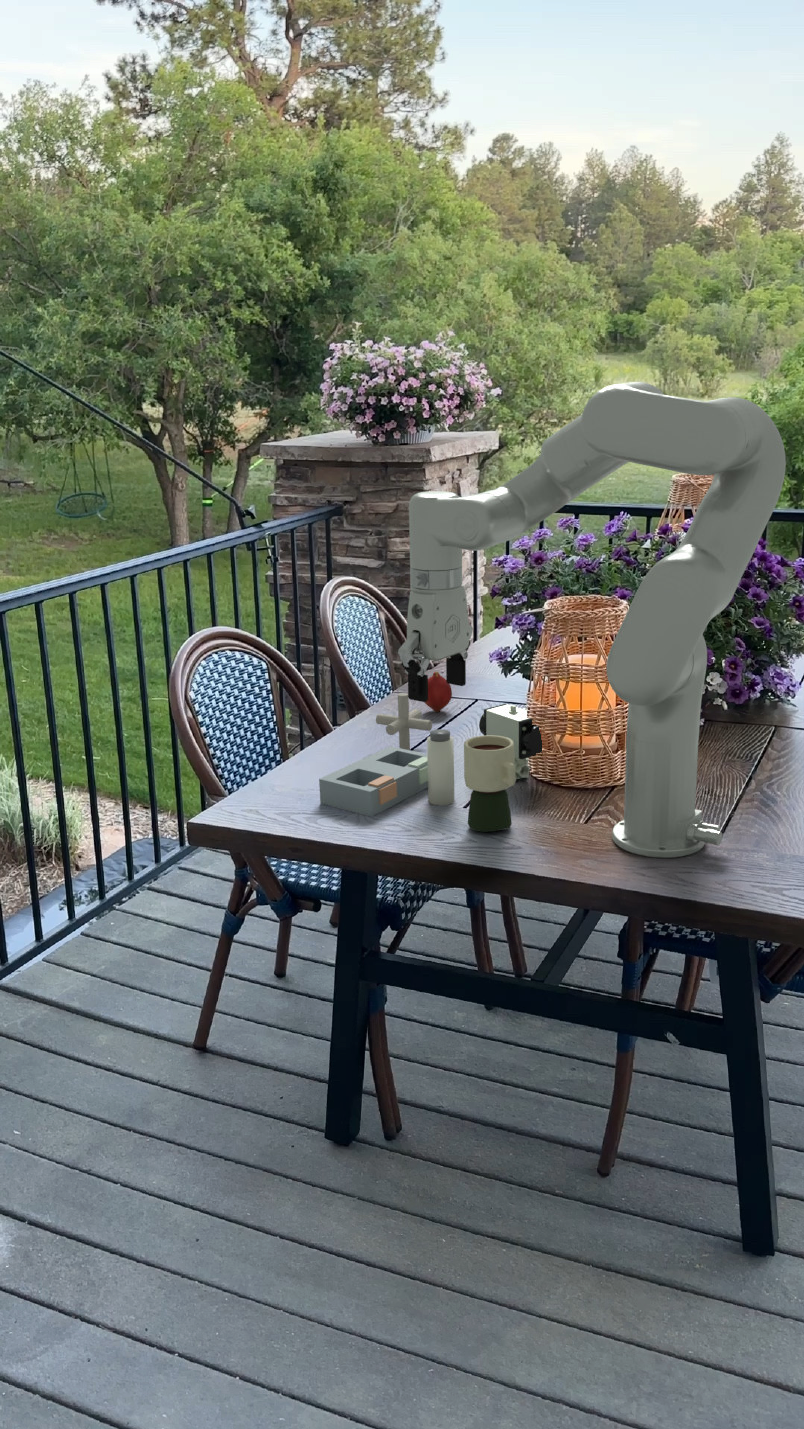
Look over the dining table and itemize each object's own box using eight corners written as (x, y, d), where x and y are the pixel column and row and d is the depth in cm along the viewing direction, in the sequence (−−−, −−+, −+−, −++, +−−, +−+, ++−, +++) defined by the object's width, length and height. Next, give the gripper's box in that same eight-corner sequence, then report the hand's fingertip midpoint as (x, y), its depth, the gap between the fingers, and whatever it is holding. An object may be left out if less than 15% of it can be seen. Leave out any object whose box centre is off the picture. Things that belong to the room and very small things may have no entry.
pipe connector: (443, 744, 204) (442, 689, 201) (417, 762, 195) (415, 705, 192) (392, 737, 208) (391, 683, 205) (365, 754, 200) (363, 698, 197)
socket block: (442, 780, 187) (442, 755, 185) (372, 817, 173) (371, 790, 172) (391, 769, 193) (390, 744, 191) (320, 803, 179) (318, 777, 178)
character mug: (533, 833, 166) (533, 747, 162) (494, 846, 162) (493, 758, 158) (485, 810, 174) (484, 728, 170) (447, 822, 170) (445, 738, 166)
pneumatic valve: (527, 790, 182) (527, 717, 178) (478, 770, 191) (477, 700, 187) (553, 782, 185) (553, 709, 181) (503, 763, 194) (503, 694, 190)
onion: (421, 707, 225) (420, 667, 223) (451, 706, 225) (450, 666, 223) (422, 716, 220) (421, 675, 217) (452, 715, 220) (452, 674, 217)
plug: (459, 799, 179) (458, 731, 176) (444, 807, 176) (443, 738, 173) (438, 793, 181) (436, 726, 178) (423, 802, 178) (421, 733, 175)
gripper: (422, 592, 160) (423, 711, 165) (490, 571, 173) (490, 682, 178) (378, 586, 164) (381, 702, 169) (448, 566, 177) (449, 675, 182)
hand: (437, 692), depth 174 cm, fingers open, 9 cm apart
